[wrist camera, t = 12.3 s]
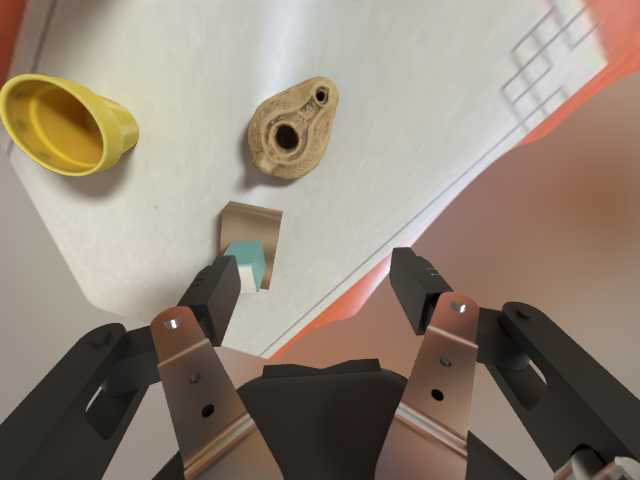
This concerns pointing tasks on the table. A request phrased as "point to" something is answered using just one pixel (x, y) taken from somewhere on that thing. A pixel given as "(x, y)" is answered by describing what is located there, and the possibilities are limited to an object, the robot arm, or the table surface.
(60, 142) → the plant pot
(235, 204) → the brown rectangular block
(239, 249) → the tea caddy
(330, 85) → the oil lamp
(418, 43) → the table surface
